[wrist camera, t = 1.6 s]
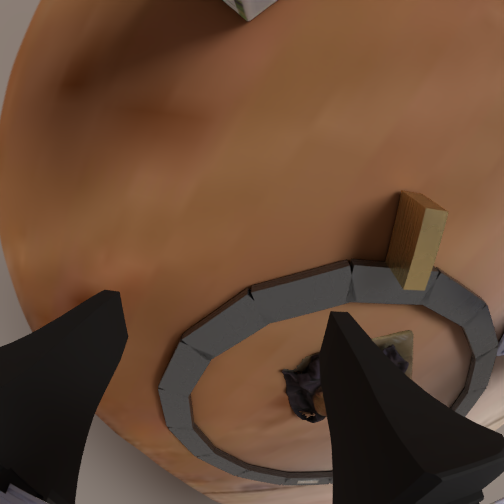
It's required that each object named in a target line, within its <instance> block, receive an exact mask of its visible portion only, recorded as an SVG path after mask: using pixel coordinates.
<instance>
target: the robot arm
mask: <svg viewBox="0 0 504 504" xmlns="http://www.w3.org/2000/svg"><path fill="white" fill-rule="evenodd" d="M127 339H128V333H127V328H126V324H125V319H124V313H123V308H122V303H121V297H120V292H117V291H110V290H103V291H101V292H99V293H98V294H96V295H94V296H92V297H91V298H89V299H88V300H86V301H84V302H83V303H81V304H80V305H78V306H76V307H75V308H73V309H72V310H70V311H68V312H67V313H65V314H64V315H62V316H61V317H59V318H57V319H55V320H54V321H52V322H50V323H49V324H47V325H45V326H43V327H42V328H40V329H38V330H36V331H35V332H33V333H31V334H29V335H27V336H25V337H23V338H21V339H18V340H16V341H14V342H12V343H10V344H7V345H4V346H2V347H0V504H48V503H49V504H75V497H76V489H77V481H78V475H79V469H80V464H81V459H82V455H83V451H84V447H85V443H86V439H87V436H88V432H89V429H90V426H91V423H92V420H93V417H94V414H95V412H96V409H97V407H98V405H99V403H100V400H101V398H102V396H103V394H104V392H105V390H106V388H107V386H108V384H109V382H110V380H111V378H112V376H113V374H114V372H115V370H116V368H117V366H118V364H119V362H120V360H121V357H122V354H123V351H124V348H125V345H126V342H127ZM502 355H504V335H503V336H502V338H501V340H500V342H499V345H498V351H497V354H496V356H502ZM319 367H320V381H321V387H322V392H323V398H324V403H325V408H326V414H327V419H328V425H329V430H330V436H331V444H332V464H333V504H479V502H481V501H482V500H483V499H484V495H483V492H482V489H483V488H484V487H486V486H487V485H488V484H489V483H491V482H492V481H493V480H494V479H496V478H497V477H498V476H499V475H500V474H501V473H502V472H504V437H503V435H502V434H500V433H497V432H495V431H493V430H491V429H488V428H486V427H484V426H481V425H479V424H477V423H475V422H473V421H471V420H469V419H467V418H466V417H464V416H462V415H460V414H458V413H457V412H455V411H453V410H452V409H450V408H448V407H447V406H445V405H444V404H443V403H441V402H440V401H438V400H437V399H435V398H434V397H432V396H431V395H430V394H428V393H427V392H426V391H424V390H423V389H422V388H421V387H420V386H418V385H417V384H416V383H415V382H414V381H412V380H411V379H410V378H409V377H408V376H407V375H405V374H404V373H403V372H402V371H401V370H400V369H399V368H398V367H397V366H396V365H395V364H394V363H393V362H392V361H391V360H390V359H389V358H388V357H387V356H386V355H385V354H384V353H383V352H382V351H381V349H380V348H379V347H378V346H377V345H376V344H375V343H374V342H373V341H372V339H371V338H370V337H369V336H368V335H367V334H366V332H365V331H364V330H363V329H362V328H361V327H360V325H359V324H358V323H357V322H356V321H355V320H354V318H353V317H352V316H351V315H350V314H349V313H348V312H333V311H330V315H329V319H328V323H327V327H326V331H325V335H324V339H323V343H322V346H321V350H320V354H319ZM36 497H37V498H36ZM38 498H39V499H38ZM40 499H41V500H40ZM42 500H43V501H42ZM44 501H45V502H44ZM46 502H47V503H46ZM491 504H504V498H502V499H500V500H497V501H495V502H493V503H491Z"/></svg>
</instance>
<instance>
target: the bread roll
mask: <svg viewBox="0 0 504 504" xmlns="http://www.w3.org/2000/svg"><path fill="white" fill-rule="evenodd" d="M372 341H373V342H374V343H375V344H376V345H377V346H378V347H379V348H380V349H381V351H382V352H383V353H384V354H385V355H386V356H387V357H388V358H389V359H390V360H391V361H392V362H393V363H394V364H395V365H396V366H397V367H398V368H399V369H400V370H401V371H402V372H403V373H404V374H405V375H407V376H408V377H409V378H410V379H411V375H412V361H413V333H412V331H411V330H407V331H402V332H397V333H393V334H390V335H386V336H381V337H377V338H374V339H372ZM319 354H320V353H317V354H314V355H310V356H308V357H306V358H305V359H302V362H301V364H300V365H298V366H297V369H294V370H288V369H283V370H282V373H283V374H284V378H285V380H286V393H287V395H288V397H289V402H290V405H291V407H292V409H293V411H294V413H295V414H296V415H297V416H298V417H299V418H301V419H302V420H307V421H309V422H311V423H315V422H319V421H321V420H323V419H324V418H325V417H327V414H326V408H325V403H324V398H323V392H322V387H321V381H320V367H319ZM295 371H297V372H302V373H300V374H298V373H297V372H295ZM299 411H302V412H299ZM303 412H304V413H305V414H311V415H314V414H312V413H315V416H310V415H309V416H310V417H308V418H306V417H307V416H305V414H303ZM302 414H303V415H302Z"/></svg>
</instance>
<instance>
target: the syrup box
mask: <svg viewBox="0 0 504 504" xmlns="http://www.w3.org/2000/svg"><path fill="white" fill-rule="evenodd" d="M223 1H224V2H225V3H226V4H227V5H229V6H230V7H231V8H232V9H233V10H235V11H236V12H237V13H238V14H239V15H240V16H241V17H243V18H244V19H245V20H246V21H250V20H252V19H253V18H255V17H256V16H257V15H258V14H260V13H261V12H262V11H264V10H265V9H266V8H268V7H269V6H270V5H272V4H273V3H274V2H276V1H277V0H223Z"/></svg>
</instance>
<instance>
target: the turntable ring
mask: <svg viewBox="0 0 504 504" xmlns="http://www.w3.org/2000/svg"><path fill="white" fill-rule="evenodd" d="M447 215H448V211H447V210H445V209H444V208H442V207H441V206H439V205H438V204H436V203H435V202H433V201H432V200H431V199H429V198H428V197H426V196H425V195H423V194H420V193H414V192H409V191H403V190H401V195H400V200H399V205H398V210H397V215H396V219H395V224H394V228H393V232H392V237H391V241H390V245H389V249H388V253H387V257H386V261H385V262H382V261H370V260H358V259H351V262H350V265H349V263H348V261H347V259H346V260H343V261H339V262H336V263H332V264H329V265H325V266H322V267H318V268H315V269H311V270H307V271H304V272H300V273H296V274H293V275H289V276H285V277H282V278H278V279H274V280H271V281H267V282H263V283H259V284H256V285H252V289H251V290H250V289H249V288H246V289H245V290H244V291H242V292H241V293H239V294H238V295H237V296H235V297H234V298H232V299H231V300H230V301H228V302H227V303H225V304H224V305H223V306H221V307H220V308H218V309H217V310H215V311H214V312H213V313H211V314H210V315H208V316H207V317H206V318H204V319H203V320H201V321H200V322H198V323H197V324H196V325H194V326H193V327H191V328H190V329H188V330H187V331H186V332H184V335H183V334H182V336H181V339H180V341H179V343H178V345H177V347H176V349H175V351H174V353H173V355H172V357H171V359H170V362H169V364H168V366H167V368H166V370H165V372H164V374H163V376H162V378H161V381H160V384H159V386H158V387H159V388H158V391H159V395H160V400H161V404H162V408H163V413H164V417H165V421H166V425H167V427H168V429H169V430H170V431H171V432H172V433H173V434H174V435H175V436H176V437H177V438H178V439H179V440H180V441H181V443H182V444H183V445H184V446H185V447H186V448H187V449H188V450H189V451H190V452H191V453H192V454H193V455H194V456H197V458H199V459H201V460H203V461H205V462H207V463H209V464H211V465H213V466H215V467H217V468H219V469H221V470H223V471H225V472H228V473H230V474H232V475H234V476H235V475H237V477H242V478H246V479H251V480H256V481H261V482H266V483H272V484H278V485H281V484H282V485H320V484H329V483H331V484H332V483H333V471H332V472H312V473H287V472H282V471H276V470H271V469H266V468H262V467H257V466H253V465H249V464H247V463H245V462H243V461H240V460H238V459H236V458H235V457H233V456H231V455H229V454H227V453H225V452H223V451H221V450H219V449H217V448H216V447H215V446H214V445H213V444H212V443H211V442H210V440H209V439H208V438H207V437H206V436H205V435H204V433H203V432H202V431H201V430H200V429H199V428H198V426H197V425H196V424H195V423H194V418H193V409H192V401H191V392H192V390H193V388H194V387H195V385H196V384H197V382H198V380H199V379H200V377H201V375H202V374H203V372H204V371H205V369H206V367H207V366H208V364H209V363H210V361H211V359H213V358H214V357H216V356H218V355H219V354H221V353H223V352H224V351H226V350H228V349H229V348H231V347H233V346H234V345H236V344H238V343H239V342H241V341H242V340H244V339H246V338H247V337H249V336H250V335H252V334H254V333H255V332H257V331H258V330H260V329H262V328H263V327H265V326H266V325H268V324H269V323H273V322H277V321H281V320H285V319H290V318H293V317H297V316H301V315H305V314H309V313H313V312H317V311H320V310H324V309H328V308H331V307H335V306H339V305H342V304H346V303H349V302H361V303H384V304H415V305H424V306H426V307H427V308H429V309H431V310H433V311H435V312H437V313H438V314H440V315H442V316H444V317H446V318H448V319H449V320H451V321H453V322H455V323H457V324H458V325H460V326H462V329H463V331H464V334H465V336H466V338H467V341H468V343H469V346H470V348H471V351H472V359H471V364H470V369H469V373H468V377H467V382H466V386H465V389H464V390H463V392H462V393H461V394H460V396H459V397H458V399H457V400H456V402H455V403H454V404H453V406H452V407H451V409H452V410H453V411H455V412H457V413H458V414H460V415H462V416H464V417H465V416H466V415H467V414H468V412H469V411H470V410H471V408H472V407H473V406H474V404H475V403H476V402H477V400H478V399H479V398H480V396H481V395H482V393H483V392H484V391H485V389H486V387H487V385H488V382H489V379H490V376H491V372H492V369H493V365H494V362H495V358H496V354H497V351H498V345H499V344H498V341H497V337H496V333H495V329H494V326H493V322H492V319H491V315H490V312H489V309H488V306H487V304H486V303H485V301H484V300H483V299H482V298H481V297H480V296H478V295H477V294H476V293H474V292H473V291H471V290H470V289H468V288H467V287H466V286H464V285H463V284H461V283H460V282H458V281H457V280H455V279H454V278H452V277H451V276H450V275H448V274H447V273H445V272H444V271H442V270H441V269H439V268H438V267H436V268H435V267H434V266H433V265H434V262H435V258H436V255H437V252H438V248H439V245H440V242H441V238H442V234H443V231H444V227H445V223H446V219H447Z"/></svg>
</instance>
